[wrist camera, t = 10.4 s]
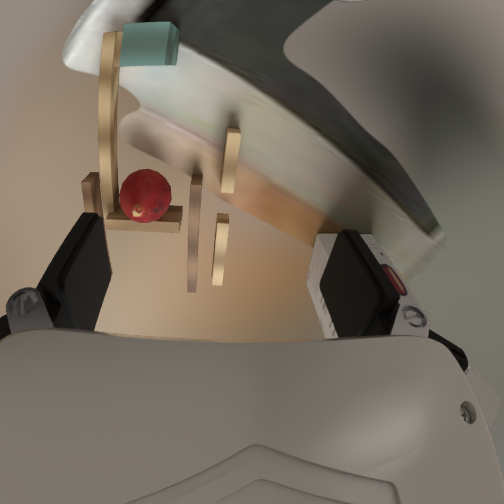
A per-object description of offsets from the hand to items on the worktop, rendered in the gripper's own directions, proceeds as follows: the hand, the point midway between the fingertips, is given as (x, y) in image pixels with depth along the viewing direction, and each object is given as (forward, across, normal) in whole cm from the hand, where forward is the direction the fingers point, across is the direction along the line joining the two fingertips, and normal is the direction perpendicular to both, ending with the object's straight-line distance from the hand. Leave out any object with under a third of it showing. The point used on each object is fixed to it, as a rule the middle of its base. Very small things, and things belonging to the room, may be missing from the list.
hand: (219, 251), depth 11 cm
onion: (+24, +7, +8) cm, 26 cm away
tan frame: (+23, +8, +1) cm, 24 cm away
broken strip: (+23, -2, +10) cm, 26 cm away
